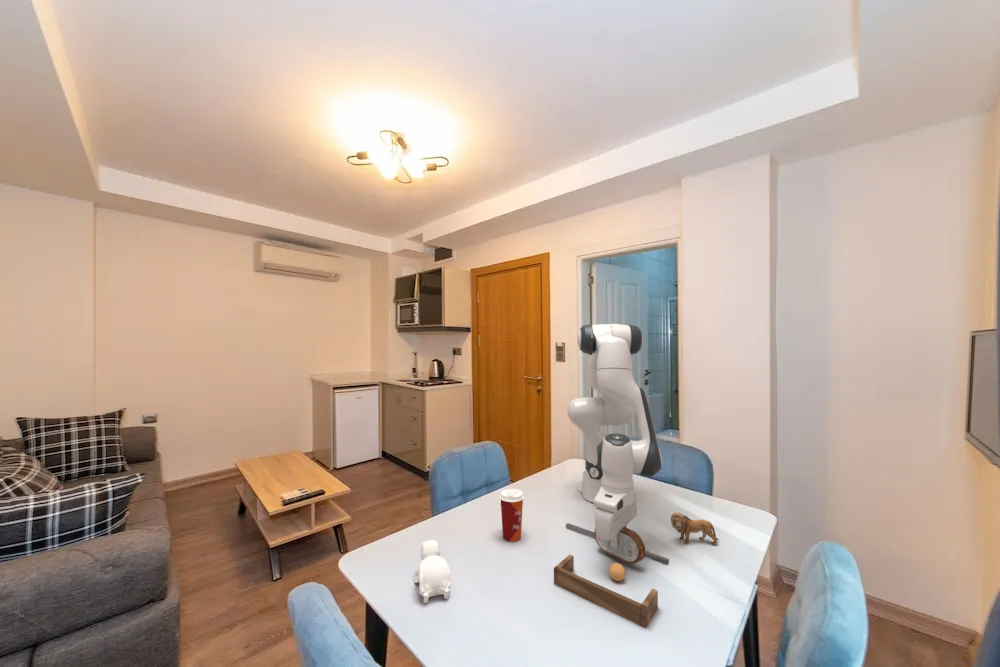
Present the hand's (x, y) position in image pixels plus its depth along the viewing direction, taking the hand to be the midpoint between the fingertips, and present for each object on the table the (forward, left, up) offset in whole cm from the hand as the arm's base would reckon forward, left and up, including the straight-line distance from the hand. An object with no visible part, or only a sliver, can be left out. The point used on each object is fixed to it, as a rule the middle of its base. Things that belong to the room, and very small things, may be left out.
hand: (618, 542), depth 109 cm
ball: (+9, +3, -3) cm, 10 cm away
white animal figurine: (+41, -32, -5) cm, 52 cm away
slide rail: (-7, -5, -5) cm, 9 cm away
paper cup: (+10, -31, -5) cm, 32 cm away
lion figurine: (-23, +14, -5) cm, 28 cm away
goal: (+17, +3, -5) cm, 18 cm away
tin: (0, 0, -4) cm, 4 cm away
